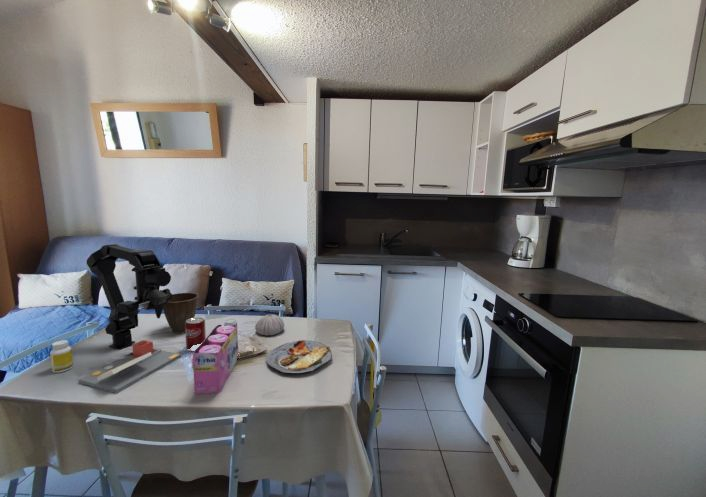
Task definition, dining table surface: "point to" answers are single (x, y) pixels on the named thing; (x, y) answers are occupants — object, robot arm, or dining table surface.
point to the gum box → (215, 359)
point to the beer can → (230, 323)
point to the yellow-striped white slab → (123, 366)
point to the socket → (155, 352)
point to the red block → (142, 348)
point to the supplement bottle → (61, 356)
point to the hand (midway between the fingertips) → (147, 322)
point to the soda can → (194, 331)
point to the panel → (128, 372)
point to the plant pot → (180, 310)
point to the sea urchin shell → (269, 325)
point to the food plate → (299, 356)
